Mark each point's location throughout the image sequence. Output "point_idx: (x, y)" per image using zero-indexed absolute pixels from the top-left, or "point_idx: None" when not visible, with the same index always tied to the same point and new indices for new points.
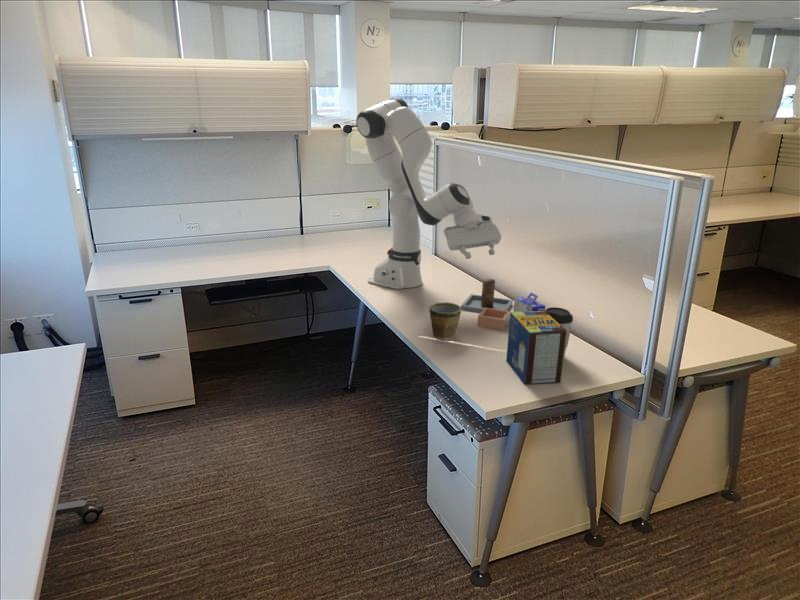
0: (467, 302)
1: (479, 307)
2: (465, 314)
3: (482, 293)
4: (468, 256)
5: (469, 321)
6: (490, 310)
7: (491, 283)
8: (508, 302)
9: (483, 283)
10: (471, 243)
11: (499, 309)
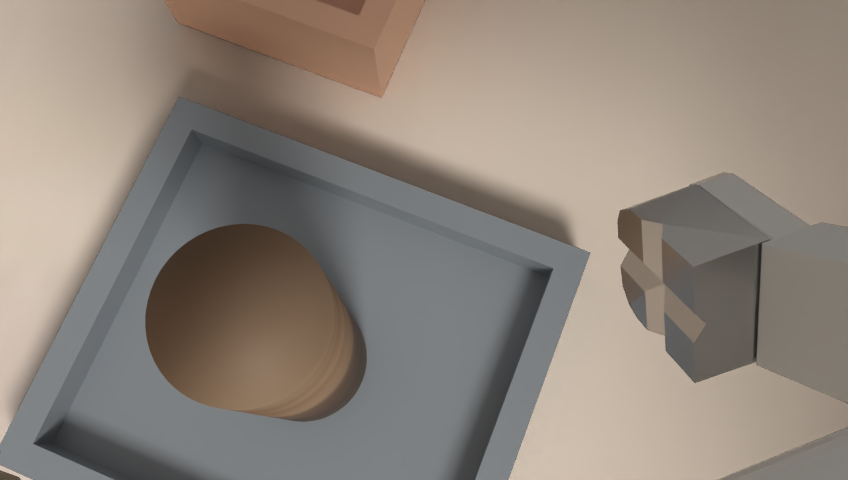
0: (508, 388)
1: (403, 211)
2: (538, 178)
3: (349, 319)
4: (696, 184)
5: (516, 22)
6: (326, 8)
7: (223, 231)
8: (65, 376)
9: (331, 287)
10: (737, 472)
11: None
